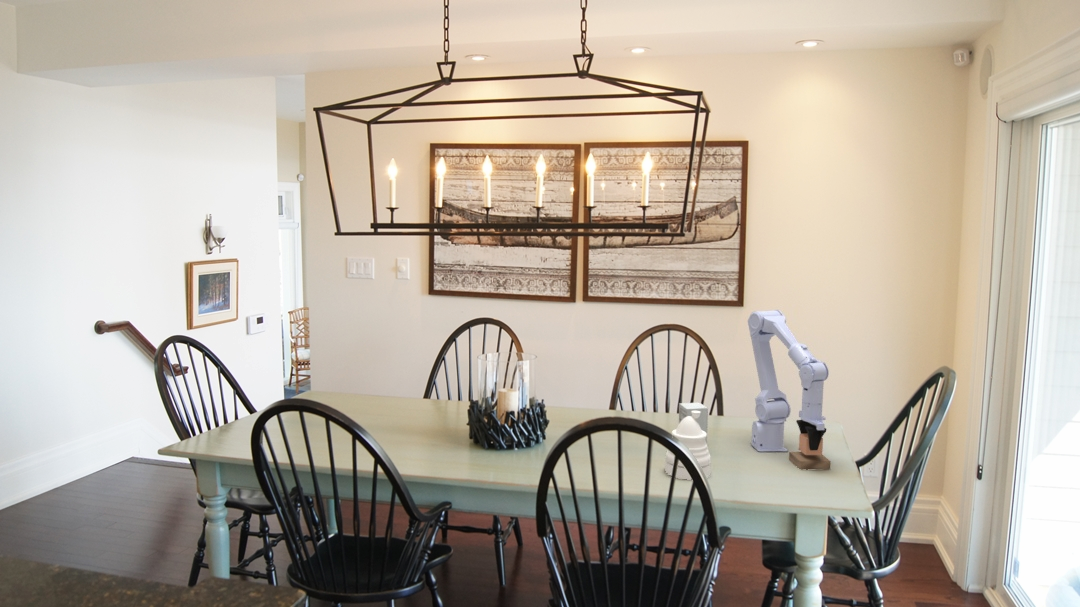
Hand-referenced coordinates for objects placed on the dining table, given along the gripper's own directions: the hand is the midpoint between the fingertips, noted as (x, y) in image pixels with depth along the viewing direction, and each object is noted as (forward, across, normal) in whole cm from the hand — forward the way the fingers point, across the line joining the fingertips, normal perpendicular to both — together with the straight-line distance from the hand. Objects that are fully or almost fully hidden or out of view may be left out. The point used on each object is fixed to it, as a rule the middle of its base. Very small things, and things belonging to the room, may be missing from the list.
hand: (810, 447), depth 227 cm
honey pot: (+6, -6, +38) cm, 39 cm away
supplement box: (+6, +22, +30) cm, 38 cm away
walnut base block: (+6, 0, 0) cm, 6 cm away
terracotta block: (+2, 0, 0) cm, 2 cm away
